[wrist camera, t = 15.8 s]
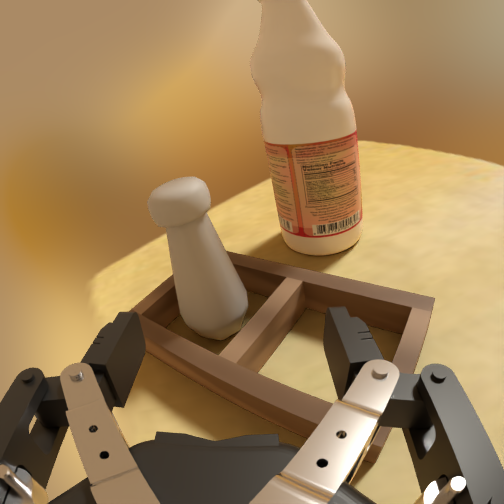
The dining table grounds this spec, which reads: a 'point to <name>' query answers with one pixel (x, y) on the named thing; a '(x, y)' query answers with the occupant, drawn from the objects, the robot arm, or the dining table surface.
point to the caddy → (282, 337)
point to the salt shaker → (199, 260)
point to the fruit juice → (307, 129)
